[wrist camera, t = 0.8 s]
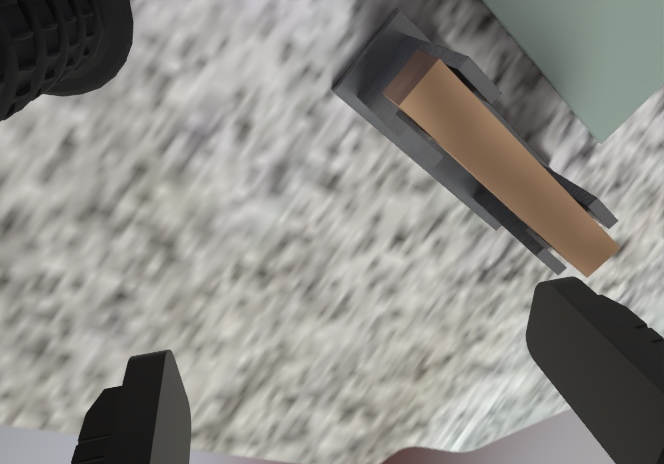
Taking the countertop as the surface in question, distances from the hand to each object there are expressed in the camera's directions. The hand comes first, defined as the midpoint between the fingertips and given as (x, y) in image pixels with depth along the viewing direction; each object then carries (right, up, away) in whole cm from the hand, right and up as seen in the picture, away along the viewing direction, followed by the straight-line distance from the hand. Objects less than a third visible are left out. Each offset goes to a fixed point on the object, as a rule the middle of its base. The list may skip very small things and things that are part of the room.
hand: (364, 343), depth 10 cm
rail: (+11, +7, +21) cm, 24 cm away
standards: (+9, +10, +27) cm, 31 cm away
